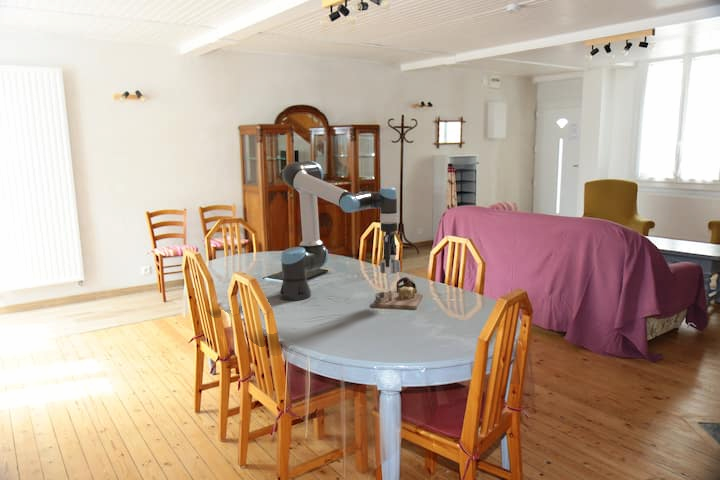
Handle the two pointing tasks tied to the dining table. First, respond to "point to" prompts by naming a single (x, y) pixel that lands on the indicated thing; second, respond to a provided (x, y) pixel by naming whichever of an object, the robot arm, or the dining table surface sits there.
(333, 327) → the dining table surface
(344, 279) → the dining table surface
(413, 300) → the carrier plate
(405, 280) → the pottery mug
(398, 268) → the planet gear
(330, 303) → the dining table surface
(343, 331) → the dining table surface
